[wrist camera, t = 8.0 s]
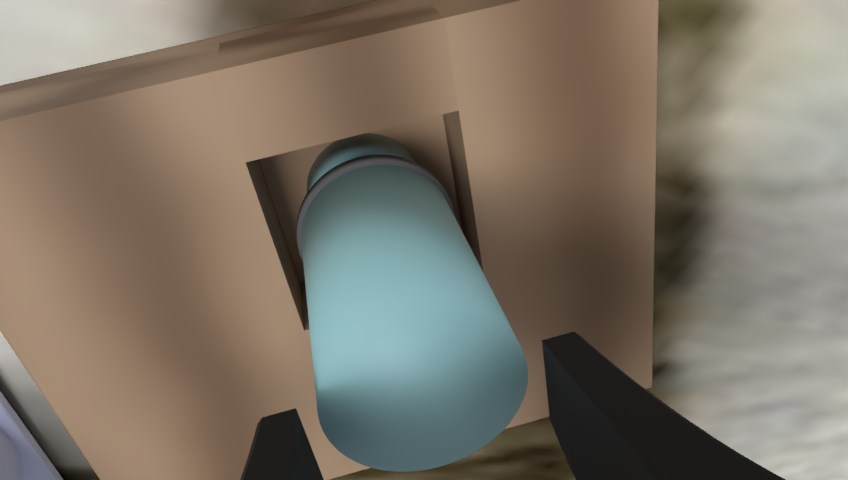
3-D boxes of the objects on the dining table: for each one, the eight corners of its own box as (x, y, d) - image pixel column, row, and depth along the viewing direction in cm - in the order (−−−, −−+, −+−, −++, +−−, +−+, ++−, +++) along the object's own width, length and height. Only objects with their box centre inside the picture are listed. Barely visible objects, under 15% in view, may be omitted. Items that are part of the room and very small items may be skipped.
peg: (311, 260, 21) (339, 498, 13) (275, 138, 19) (284, 339, 11) (441, 229, 21) (539, 442, 14) (421, 105, 19) (525, 278, 12)
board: (150, 456, 25) (136, 534, 22) (-60, 99, 17) (-122, 148, 14) (610, 329, 26) (651, 387, 23) (600, -51, 19) (658, -32, 16)
